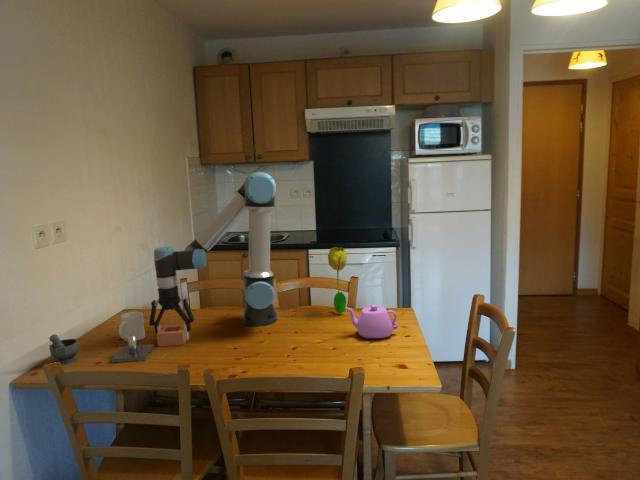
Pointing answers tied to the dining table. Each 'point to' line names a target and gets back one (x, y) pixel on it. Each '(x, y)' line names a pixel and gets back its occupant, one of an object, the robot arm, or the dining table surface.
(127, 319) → the mug
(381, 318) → the teapot
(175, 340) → the terracotta brick slab
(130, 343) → the block
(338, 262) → the flower
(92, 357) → the dining table surface
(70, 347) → the mortar and pestle
